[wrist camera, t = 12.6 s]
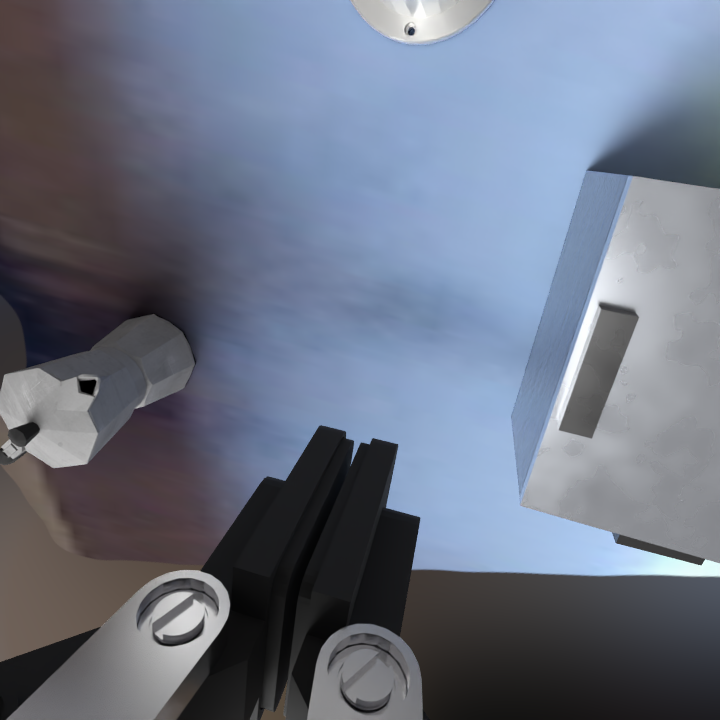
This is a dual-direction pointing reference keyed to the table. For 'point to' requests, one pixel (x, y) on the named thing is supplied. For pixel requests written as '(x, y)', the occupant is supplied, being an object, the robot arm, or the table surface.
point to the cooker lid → (643, 380)
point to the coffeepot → (92, 392)
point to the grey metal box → (570, 325)
